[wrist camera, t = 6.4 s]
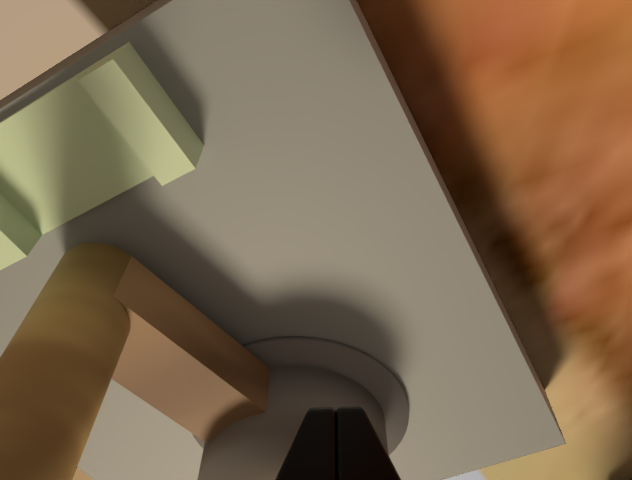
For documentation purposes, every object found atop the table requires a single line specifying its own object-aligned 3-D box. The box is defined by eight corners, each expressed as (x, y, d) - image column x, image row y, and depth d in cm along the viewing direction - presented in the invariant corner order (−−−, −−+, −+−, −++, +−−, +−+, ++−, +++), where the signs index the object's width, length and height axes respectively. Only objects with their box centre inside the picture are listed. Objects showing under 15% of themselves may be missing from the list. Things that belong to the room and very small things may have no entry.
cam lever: (419, 435, 17) (459, 686, 12) (288, 495, 18) (275, 734, 14) (142, 190, 12) (16, 434, 7) (3, 302, 14) (-171, 559, 9)
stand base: (545, 391, 19) (578, 473, 17) (199, 501, 23) (184, 581, 21) (309, -97, 11) (306, -77, 9) (-158, 200, 15) (-251, 271, 13)
